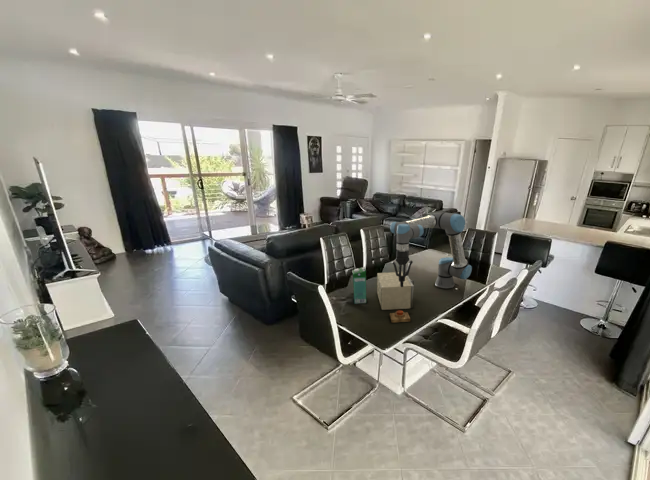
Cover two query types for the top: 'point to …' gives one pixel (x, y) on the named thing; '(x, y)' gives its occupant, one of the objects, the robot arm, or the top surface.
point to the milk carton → (359, 285)
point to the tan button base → (399, 317)
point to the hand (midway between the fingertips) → (401, 286)
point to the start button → (399, 312)
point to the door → (411, 290)
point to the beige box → (393, 291)
